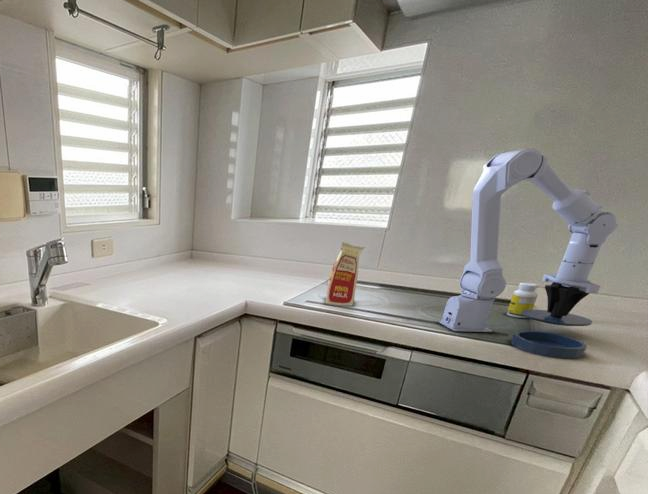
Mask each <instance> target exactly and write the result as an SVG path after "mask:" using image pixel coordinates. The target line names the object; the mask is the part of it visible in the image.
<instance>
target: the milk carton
mask: <svg viewBox="0 0 648 494" xmlns="http://www.w3.org/2000/svg"><path fill="white" fill-rule="evenodd" d="M365 248H366V247H365V246H359V245H353V244H350V243H348V242H345V241H341V248H340V252H338V256H337V258H336V259H335V262H334V264H333V266H332V268H331V269H332V270H331V273H330V276H329V279H328V283H327V290H326V297H325V304H326V305H332V306H353V304H354V303H355V295H356V294H355V293H356V288H357V283H358V275H359V263H360V255H361V254H362V252H363V250H364V249H365Z"/></svg>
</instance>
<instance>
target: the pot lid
mask: <svg viewBox="0 0 648 494" xmlns="http://www.w3.org/2000/svg"><path fill="white" fill-rule="evenodd" d="M558 305H559V301H555V304H554V306H553V309H552V311H551V313H549V312H547V309H532V310H525V311H523V312H522V315H523V316H525V317H527V318H526V319H530V320H533V321H536V322H540V323H544V324H547V325H555V326H563V327H588V326H591V325H592V324H593V321H592V319H590V318H588V317H584V316H581V315H578V314H574V313H570V312H569V313H568V315H567V316H557V315H556V311H557V308H558Z"/></svg>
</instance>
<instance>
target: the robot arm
mask: <svg viewBox="0 0 648 494" xmlns="http://www.w3.org/2000/svg"><path fill="white" fill-rule="evenodd" d="M480 175H481V176H480V177H479V179H478V181H477V183H476V185H475V186H474V187H473V191H472V203H471V227H470V228H471V229H470V254H469V255H470V257H469V262H467V263H466V264H465V265H464V266H463V272H462V274H461V276H460V278H459V281H458V282H459V283H458V284H459V286H460V288H461V291H460V292H461V293H460V295H454V296H451V297H449V298H448V300H447V302H446V304H445V306H444V311H443V314H442V317H441V320H440V321H439V322H438V323H439V324H440V325H442V326H444V327H446V328H448V329H450V330H452V331H454V332H468V333H469V332H471V333H492V332H493V330H492V329H490V328H488V327H486V325H487V322H488V320H489V316H490V313H491V310H492V307H493V304H494V301H495V300H496V298H497V297H498V296H500V295H501V294H502V293H503V292H504V291H505V288H506V286H507V281H506V279H505V277H504V275H503V268H502V266H501V264H500V262H499V261H498V251H499V235H500V220H501V219H500V218H501V200H502V196H503V195H504V194H505V193H506V192H507V191H508V190H509V189H510V188H511V187H514V186H515V185H516V184H518V183H520V182H522V181H527V182H531V183H532V184H533V185H534V186H536V187H537V188H538V189H539V190H540V191H542V192H543V193H544V194H545V195H547V197H548V198H550V199H552V200H553V203H552V210H554V211H555V213H557V215H559V216H560V217H561V218H562V219H563V220H564V221H565V222H566V223H567V224H568V225H567V227H568V232H569V233H571V237H570V239H569V242H568V244H567V247H566V249H565V252H564V255H563V258H562V260H561V261H560V262H561V263H560V265H559V268H558V270H557V273H556V274H554V273H553V274H552V273H544V274H543V277H542V279H541V282H544V283H550V284H546V285H544V290H545V292H546V296H547V306H546V308H547V309H546V310H547V312H549V313H551V311H552V309H553V306H554V304H555V301H559V305H558V308H557V311H556V315H557V316H567V315H568V313H569V314H570V312H571V311H572V310H573V309H574V307H575V306H576V305H577V304H578V303H579V302H580V301H582V300H583V299H584V298H585V297H587V296H589V295H590V294H598V292H599V290H600V289H601V285H600V284H596V283H594V282H591V280H590V279H588V278H589V276H590V274H591V272H592V269H593V266H594V265H595V262H596V259H597V257H598V254H599V252H600V250H601V248H602V245H603V244H604V243H605V242H606V240H607V238H608V237H609V236H610V235H611V234H612V233H614V232H615V230H616V229H617V228H618V226H619V224H617V218H616V215H614V214H613V213H612V212H609V211H604V210H603V206H602V205H601V204H597V203H596V202H595V201H594V200H593V198H591V197H590V195H591V193H590V192H589V191H588V190H586V189H585V190H583V189H578V188H577V189H575V188H574V189H572V188H571V187H570V186H569V185H568V184H567V183H566V182H565V180H563V178H562V177H561V176H560V175H559V174H558V173H557V171H556V170H555V169H554V168H553V167H552V166H551V164H550V163H549V160H548V157H547V156H545V155H544V154H541V152H540V150H538V149H537V148H533V147H528V148H523V149H519V150H512V151H511V150H510V151H508V150H507V151H501V152H499V153H497V154H496V155H494V156H493V157H491V158H490V159H489V160H488V161H487V162H486V163H485V164H484V165H483V171H482V173H481V174H480Z"/></svg>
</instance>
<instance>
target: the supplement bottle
mask: <svg viewBox="0 0 648 494" xmlns="http://www.w3.org/2000/svg"><path fill="white" fill-rule="evenodd" d="M538 286H539V285H538V284H537V283H533V282H520V283H519V284H518V289H516V290H514V292H512V297H511V299H510V302H509V304H508V308H507V312H506V315H507V316H509V317H512V318H517V319H528V318H527V317H525V316H523V315H522V312H523V311H525V310H534V306H535V304H536V301H537V299H538V296H539V294H538V293H537V291H536V290H537V289H538Z"/></svg>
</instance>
